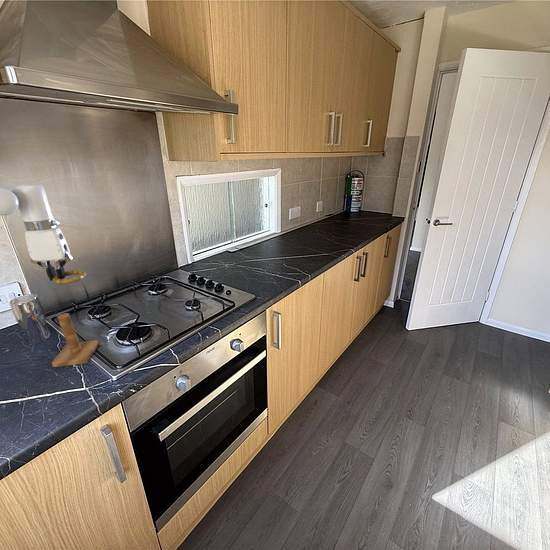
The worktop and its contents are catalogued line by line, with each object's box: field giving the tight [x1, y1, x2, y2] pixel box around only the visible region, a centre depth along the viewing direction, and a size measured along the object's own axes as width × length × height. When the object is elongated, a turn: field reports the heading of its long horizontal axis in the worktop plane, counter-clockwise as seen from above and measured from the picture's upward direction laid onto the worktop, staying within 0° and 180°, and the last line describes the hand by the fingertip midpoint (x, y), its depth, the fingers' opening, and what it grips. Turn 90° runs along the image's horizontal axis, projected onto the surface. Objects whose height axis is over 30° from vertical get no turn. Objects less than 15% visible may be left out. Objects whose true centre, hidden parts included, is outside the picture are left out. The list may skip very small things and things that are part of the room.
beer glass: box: [9, 293, 52, 345], centre depth 90 cm, size 7×7×15 cm
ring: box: [52, 269, 88, 285], centre depth 99 cm, size 10×10×2 cm
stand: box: [51, 312, 100, 368], centre depth 83 cm, size 9×9×14 cm
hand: (58, 278), depth 99 cm, fingers closed on ring, 2 cm apart
